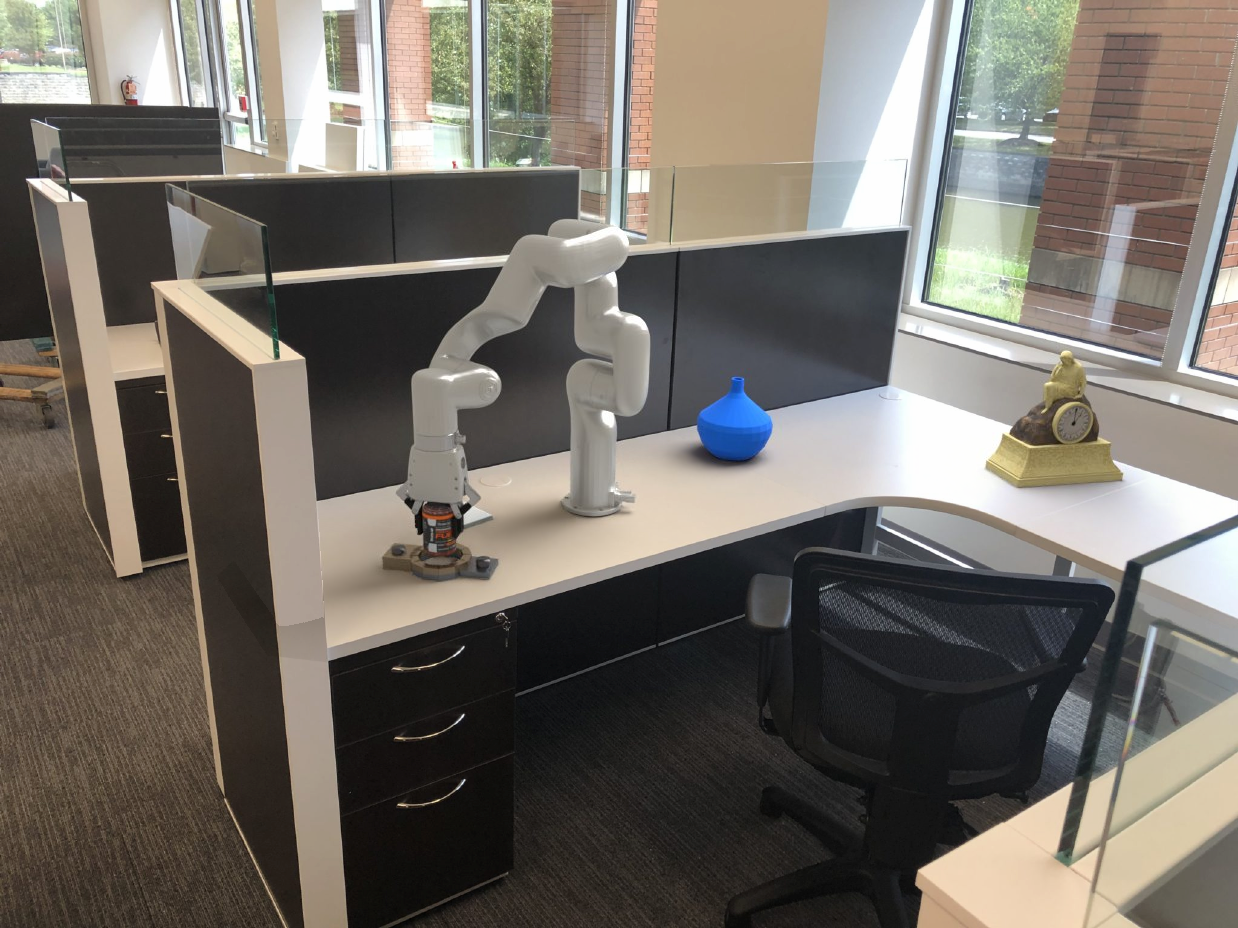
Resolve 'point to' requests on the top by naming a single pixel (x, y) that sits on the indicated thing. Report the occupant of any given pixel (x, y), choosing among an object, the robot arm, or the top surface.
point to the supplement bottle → (438, 529)
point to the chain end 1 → (409, 557)
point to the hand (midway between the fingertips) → (439, 532)
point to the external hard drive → (475, 517)
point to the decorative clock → (1056, 437)
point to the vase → (734, 425)
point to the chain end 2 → (476, 569)
